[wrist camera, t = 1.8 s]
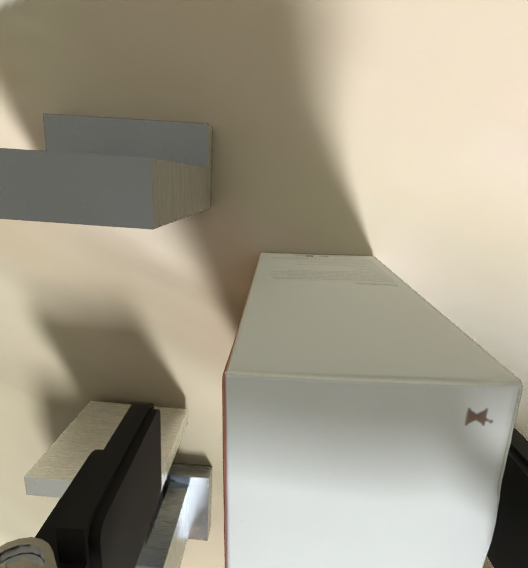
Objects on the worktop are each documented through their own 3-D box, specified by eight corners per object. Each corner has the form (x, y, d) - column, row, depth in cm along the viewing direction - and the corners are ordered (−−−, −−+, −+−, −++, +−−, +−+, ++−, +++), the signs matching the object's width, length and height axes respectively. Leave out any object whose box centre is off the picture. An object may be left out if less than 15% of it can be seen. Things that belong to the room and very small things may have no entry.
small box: (258, 250, 20) (217, 366, 8) (376, 253, 20) (538, 380, 7) (256, 383, 22) (222, 644, 10) (362, 388, 22) (469, 662, 9)
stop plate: (212, 126, 18) (150, 78, 10) (210, 208, 20) (152, 229, 11) (55, 117, 19) (-141, 61, 10) (62, 197, 20) (-110, 211, 11)
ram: (187, 409, 22) (154, 488, 17) (186, 583, 26) (159, 697, 20) (90, 400, 22) (23, 476, 17) (103, 575, 26) (52, 685, 21)
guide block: (212, 466, 24) (188, 563, 18) (210, 526, 25) (187, 635, 19) (76, 454, 24) (7, 546, 18) (81, 515, 26) (19, 618, 20)
